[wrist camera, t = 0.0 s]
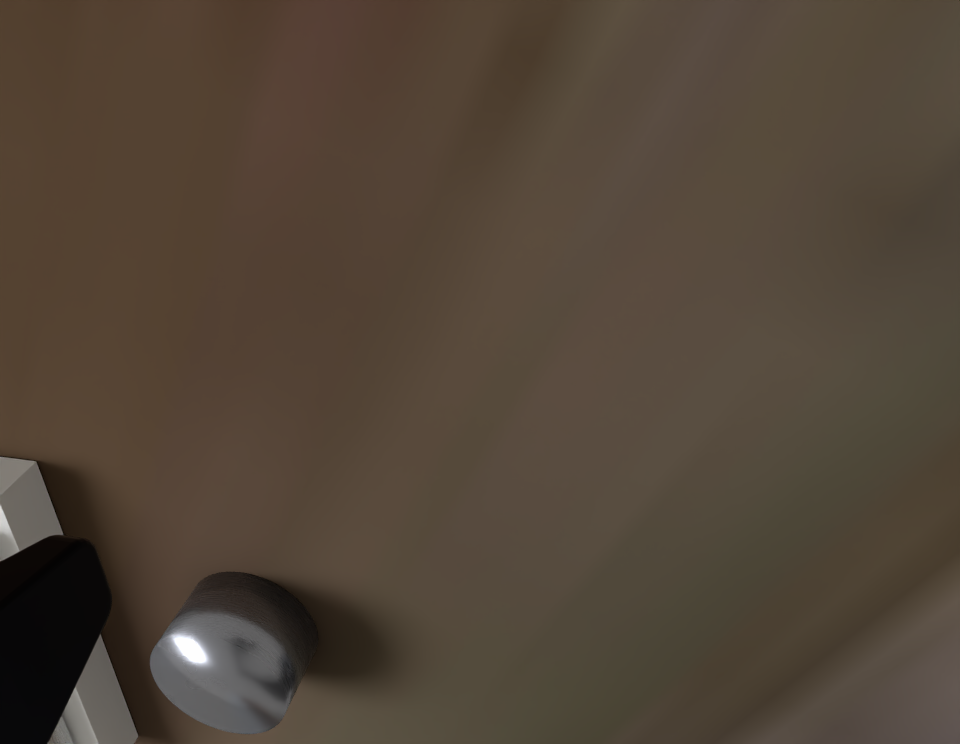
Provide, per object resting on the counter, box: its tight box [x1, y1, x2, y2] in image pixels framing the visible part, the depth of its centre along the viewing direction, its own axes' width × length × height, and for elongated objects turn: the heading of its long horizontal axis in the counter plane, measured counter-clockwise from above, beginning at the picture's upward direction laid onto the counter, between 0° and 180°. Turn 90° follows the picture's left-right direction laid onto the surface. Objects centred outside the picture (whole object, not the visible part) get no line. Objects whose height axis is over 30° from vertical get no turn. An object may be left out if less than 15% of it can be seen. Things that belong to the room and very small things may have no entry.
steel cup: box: [150, 572, 318, 734], centre depth 32 cm, size 5×5×3 cm
